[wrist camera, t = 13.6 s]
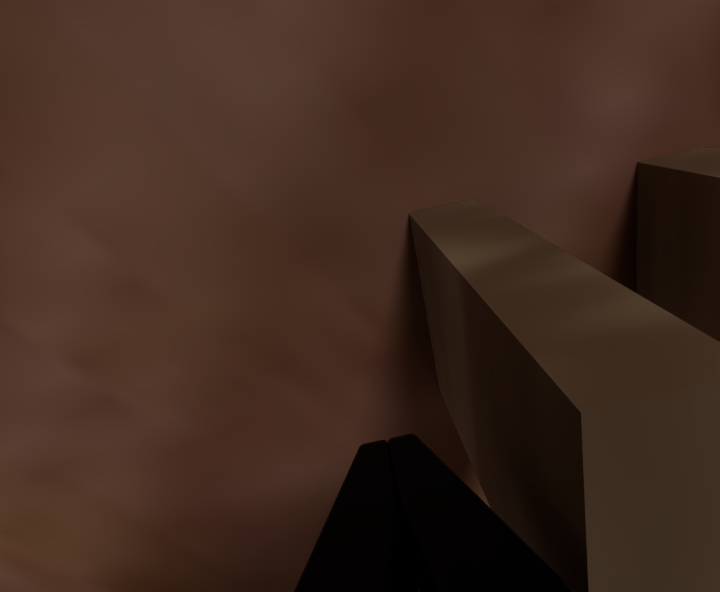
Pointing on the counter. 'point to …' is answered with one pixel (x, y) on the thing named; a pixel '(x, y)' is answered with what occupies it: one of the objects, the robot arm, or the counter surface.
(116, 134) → the counter surface
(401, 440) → the robot arm
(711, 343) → the walnut domino
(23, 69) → the counter surface
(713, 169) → the walnut domino
